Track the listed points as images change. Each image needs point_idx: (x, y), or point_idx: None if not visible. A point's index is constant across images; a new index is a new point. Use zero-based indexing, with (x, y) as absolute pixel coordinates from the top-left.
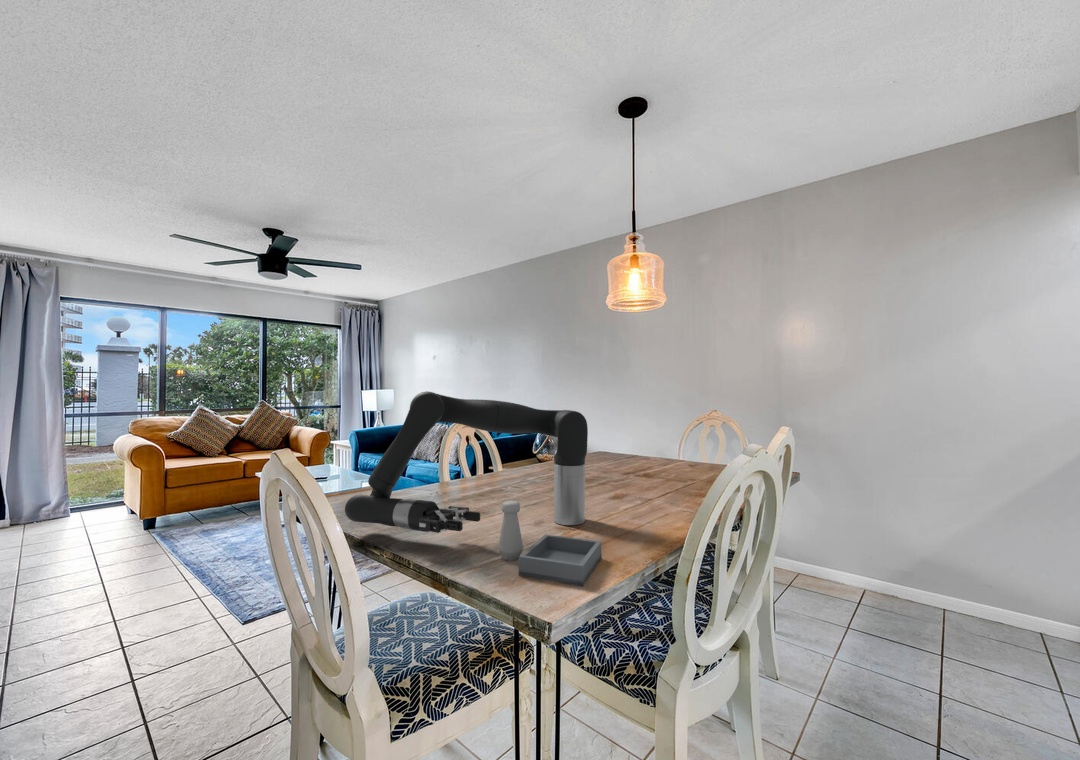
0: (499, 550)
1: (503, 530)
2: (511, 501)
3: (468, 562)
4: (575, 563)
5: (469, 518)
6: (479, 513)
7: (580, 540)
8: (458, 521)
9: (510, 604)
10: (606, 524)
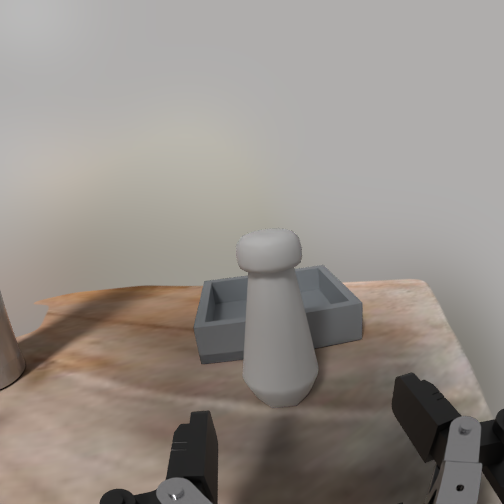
0: (313, 381)
1: (303, 322)
2: (263, 231)
3: (393, 438)
4: (321, 269)
5: (215, 480)
6: (199, 412)
7: (209, 293)
8: (414, 379)
9: (438, 303)
10: (29, 337)
